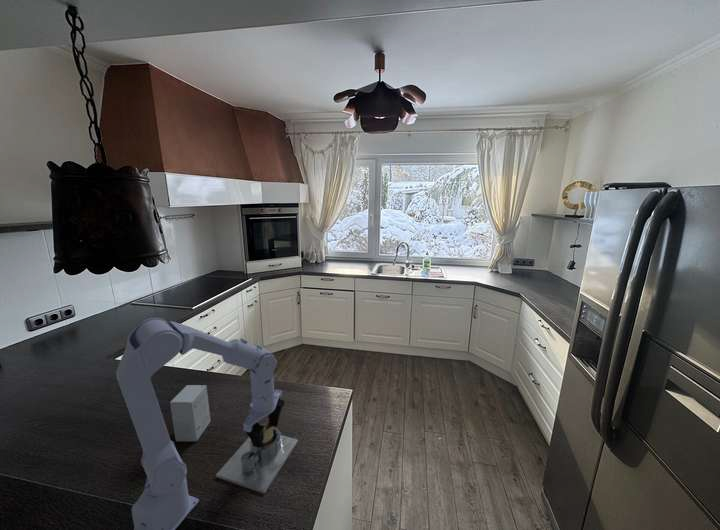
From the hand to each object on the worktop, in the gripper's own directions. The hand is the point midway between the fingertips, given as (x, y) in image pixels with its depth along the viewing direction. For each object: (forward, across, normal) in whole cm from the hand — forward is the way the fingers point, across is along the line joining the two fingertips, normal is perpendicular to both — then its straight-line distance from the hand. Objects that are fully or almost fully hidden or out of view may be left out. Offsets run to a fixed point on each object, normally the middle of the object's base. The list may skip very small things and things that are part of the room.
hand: (265, 435), depth 79 cm
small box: (+5, +1, -25) cm, 25 cm away
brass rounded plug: (+4, 0, 0) cm, 4 cm away
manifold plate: (+5, +3, 0) cm, 6 cm away
